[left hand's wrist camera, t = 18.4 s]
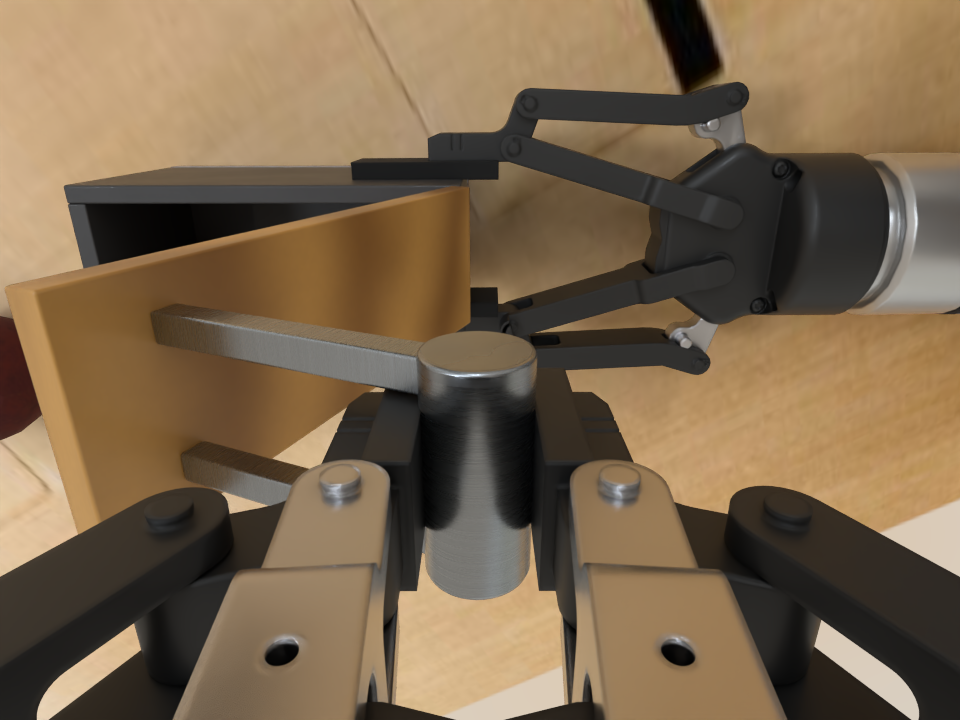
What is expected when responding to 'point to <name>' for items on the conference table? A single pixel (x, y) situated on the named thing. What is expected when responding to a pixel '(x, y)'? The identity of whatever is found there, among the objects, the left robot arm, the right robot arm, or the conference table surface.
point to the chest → (214, 204)
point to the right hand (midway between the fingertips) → (364, 238)
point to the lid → (291, 372)
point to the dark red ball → (15, 384)
